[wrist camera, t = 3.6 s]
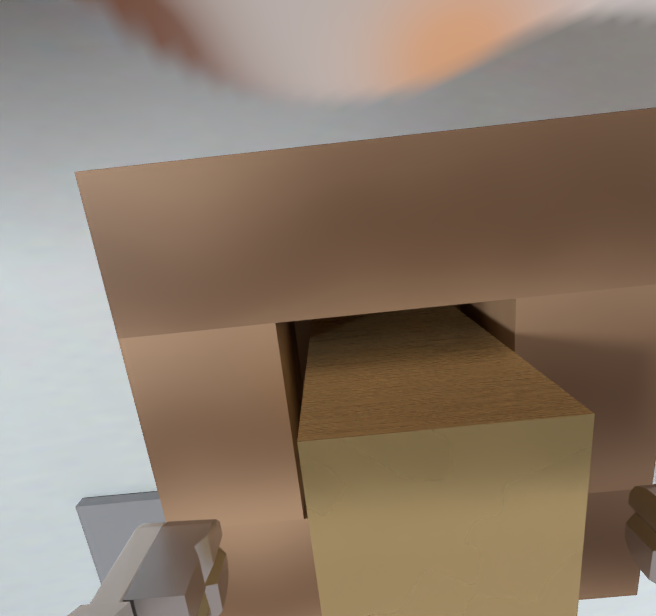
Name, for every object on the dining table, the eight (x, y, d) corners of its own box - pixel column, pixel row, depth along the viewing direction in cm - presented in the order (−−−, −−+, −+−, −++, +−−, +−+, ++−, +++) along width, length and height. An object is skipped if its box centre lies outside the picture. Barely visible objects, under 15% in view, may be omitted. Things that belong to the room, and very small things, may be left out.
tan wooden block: (313, 307, 13) (297, 442, 6) (439, 295, 13) (594, 413, 6) (326, 419, 15) (327, 656, 7) (442, 408, 15) (575, 635, 7)
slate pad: (82, 498, 20) (75, 506, 20) (267, 481, 20) (265, 489, 19) (127, 636, 23) (122, 647, 22) (291, 622, 23) (290, 632, 22)
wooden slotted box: (194, 188, 16) (74, 171, 9) (521, 153, 16) (705, 101, 8) (245, 466, 20) (194, 632, 12) (513, 441, 20) (637, 594, 12)
